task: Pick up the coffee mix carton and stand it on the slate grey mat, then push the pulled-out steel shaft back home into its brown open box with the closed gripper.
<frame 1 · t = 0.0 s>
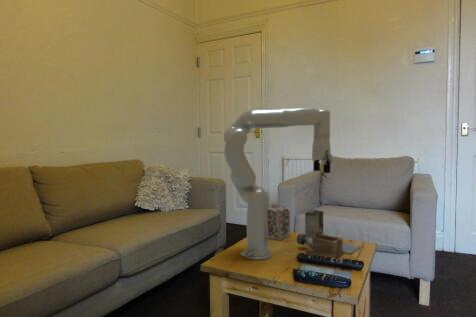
hand: (321, 171, 166), 37 cm above the table, tool pointing down, fingers open, 9 cm apart
spacer mat: (343, 248, 168), on the table
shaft: (312, 241, 165), point 4 cm above the table, slide at 5.0 cm
coffee box: (314, 243, 177), on the table
brown open box: (326, 253, 161), on the table
decorative jar: (275, 236, 190), on the table
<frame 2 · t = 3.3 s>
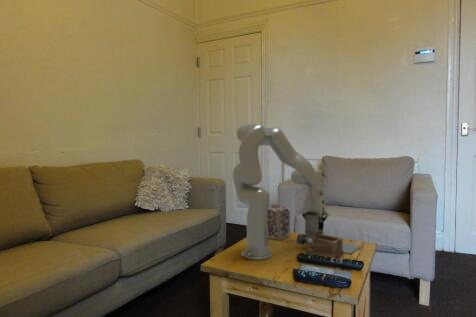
hand: (314, 228, 177), 8 cm above the table, tool pointing down, fingers closed on coffee box, 6 cm apart
coffee box: (314, 243, 177), on the table, touching gripper
everything else where it was.
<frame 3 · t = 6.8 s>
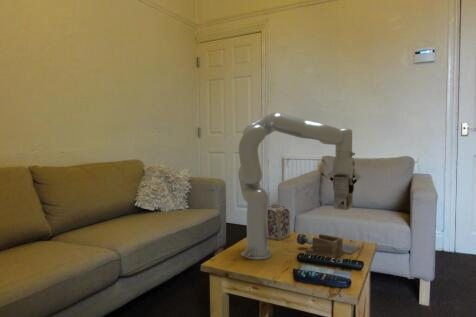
hand: (343, 191, 166), 28 cm above the table, tool pointing down, fingers closed on coffee box, 6 cm apart
coffee box: (343, 208, 167), point 20 cm above the table, touching gripper
everything else where it was.
when the fingers open (10 cm above the table, at t = 10.7 s): coffee box drops 1 cm, resting on spacer mat.
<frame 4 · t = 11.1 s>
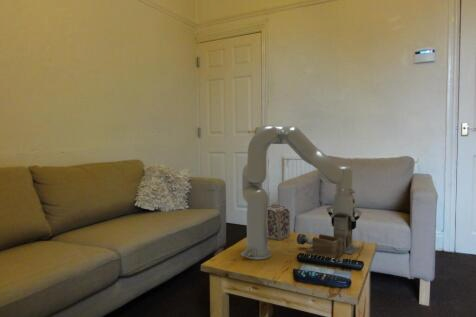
hand: (343, 227, 167), 10 cm above the table, tool pointing down, fingers open, 9 cm apart
coffee box: (343, 247, 168), resting on spacer mat
everything else where it was.
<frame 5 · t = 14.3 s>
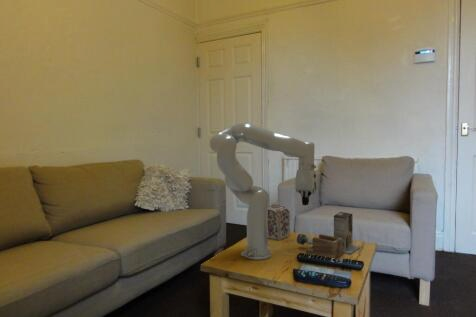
hand: (305, 204, 170), 21 cm above the table, tool pointing down, fingers closed
nothing on the table moved.
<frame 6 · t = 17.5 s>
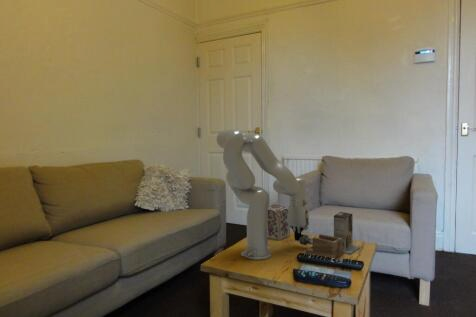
hand: (297, 239, 171), 4 cm above the table, tool pointing down, fingers closed
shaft: (314, 241, 165), point 4 cm above the table, slide at 3.6 cm, touching gripper
everything else where it was.
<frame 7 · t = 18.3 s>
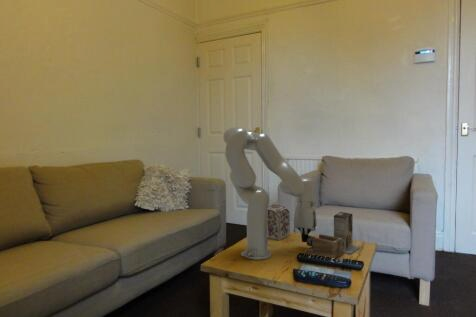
hand: (304, 241, 168), 4 cm above the table, tool pointing down, fingers closed
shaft: (322, 243, 162), point 4 cm above the table, slide at -0.2 cm, touching gripper, brown open box
everything else where it was.
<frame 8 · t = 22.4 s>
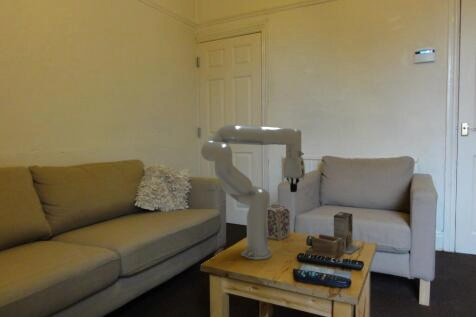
hand: (293, 191, 171), 27 cm above the table, tool pointing down, fingers closed
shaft: (321, 243, 162), point 5 cm above the table, slide at 0.0 cm
everything else where it was.
at the end: coffee box inside the target area on the spacer mat (0.1 cm from its centre), point 0.4 cm above the spacer mat's base; coffee box tilted 0°; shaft slide at 0.0 cm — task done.
